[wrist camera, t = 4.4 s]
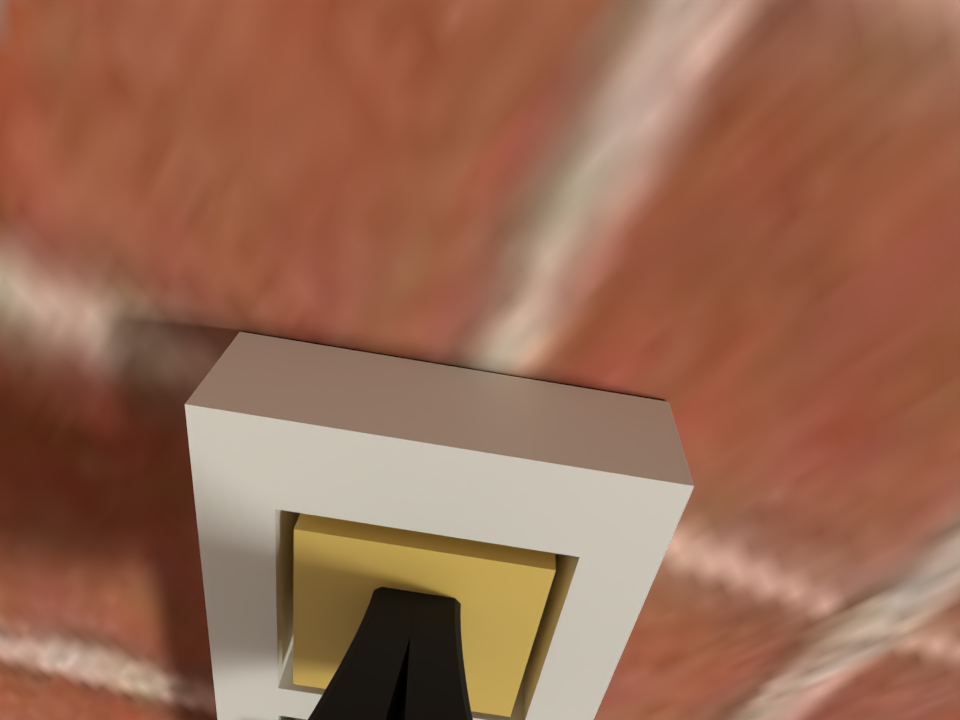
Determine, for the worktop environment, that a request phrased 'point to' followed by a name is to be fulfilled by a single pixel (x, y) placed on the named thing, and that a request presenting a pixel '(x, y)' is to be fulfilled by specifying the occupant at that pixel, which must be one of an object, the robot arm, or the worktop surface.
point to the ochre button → (425, 569)
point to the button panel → (425, 501)
